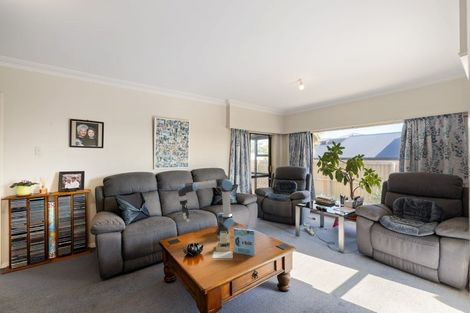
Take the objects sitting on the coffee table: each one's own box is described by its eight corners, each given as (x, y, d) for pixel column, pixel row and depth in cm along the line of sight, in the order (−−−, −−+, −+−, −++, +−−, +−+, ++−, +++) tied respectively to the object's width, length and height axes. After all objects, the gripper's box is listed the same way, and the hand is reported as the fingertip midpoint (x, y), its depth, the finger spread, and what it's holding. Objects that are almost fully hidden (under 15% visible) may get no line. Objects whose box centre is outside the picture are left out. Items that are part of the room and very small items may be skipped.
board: (213, 252, 194) (213, 251, 194) (232, 252, 194) (232, 251, 194) (212, 258, 182) (212, 258, 182) (232, 258, 182) (232, 257, 182)
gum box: (255, 253, 192) (255, 229, 191) (254, 256, 187) (254, 231, 187) (235, 250, 197) (235, 227, 197) (233, 253, 193) (233, 228, 192)
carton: (217, 246, 207) (217, 232, 207) (230, 246, 207) (230, 231, 207) (216, 251, 195) (216, 236, 195) (230, 251, 195) (230, 236, 195)
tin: (220, 247, 204) (220, 231, 204) (226, 247, 204) (226, 231, 204) (220, 249, 199) (220, 233, 199) (226, 249, 199) (226, 233, 199)
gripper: (177, 199, 220) (180, 218, 220) (182, 202, 197) (185, 224, 197) (184, 197, 223) (187, 216, 223) (189, 200, 201) (193, 221, 201)
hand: (186, 220), depth 210 cm, fingers open, 13 cm apart
